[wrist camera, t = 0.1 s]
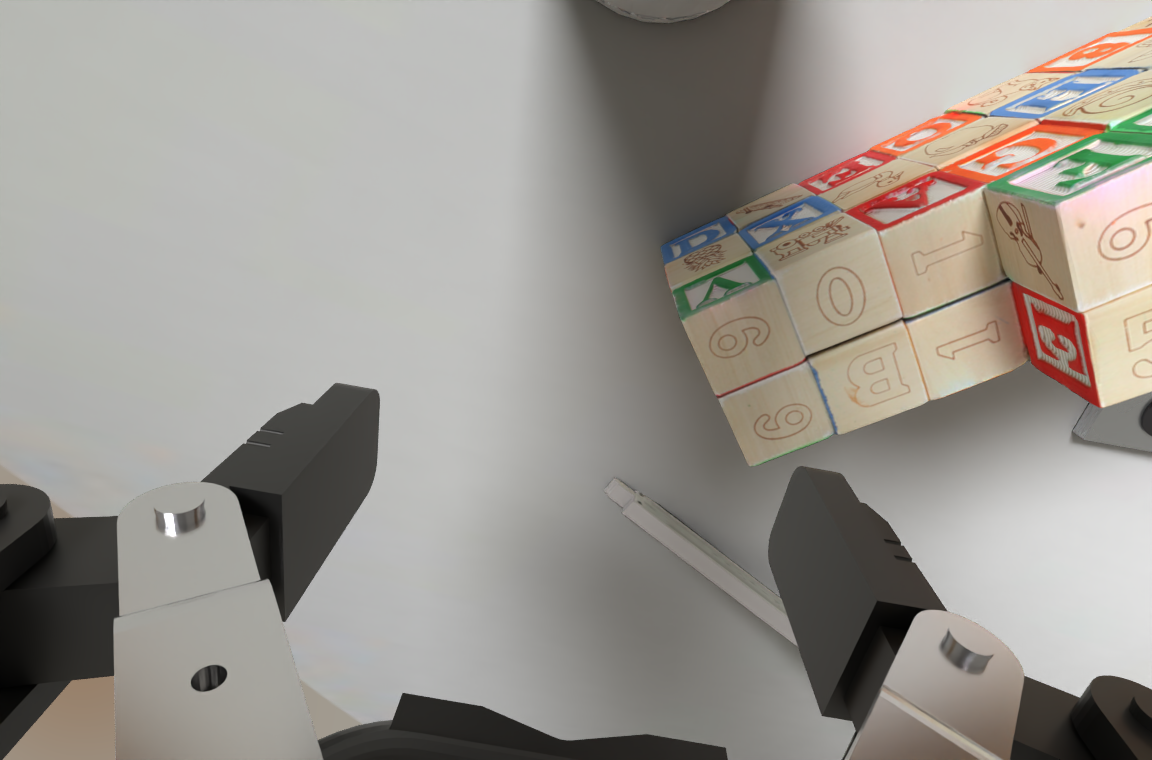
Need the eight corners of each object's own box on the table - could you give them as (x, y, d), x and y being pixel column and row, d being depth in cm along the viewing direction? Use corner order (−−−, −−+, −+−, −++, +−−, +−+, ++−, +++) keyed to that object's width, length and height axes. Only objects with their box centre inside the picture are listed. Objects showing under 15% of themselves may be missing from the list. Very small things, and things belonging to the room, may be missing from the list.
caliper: (891, 647, 37) (941, 748, 31) (877, 657, 37) (923, 759, 32) (614, 473, 33) (614, 553, 27) (602, 487, 33) (599, 568, 28)
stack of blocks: (709, 361, 30) (764, 528, 18) (656, 244, 27) (683, 353, 16) (1221, 150, 24) (1727, 206, 13) (1208, -16, 22) (1804, -118, 11)
